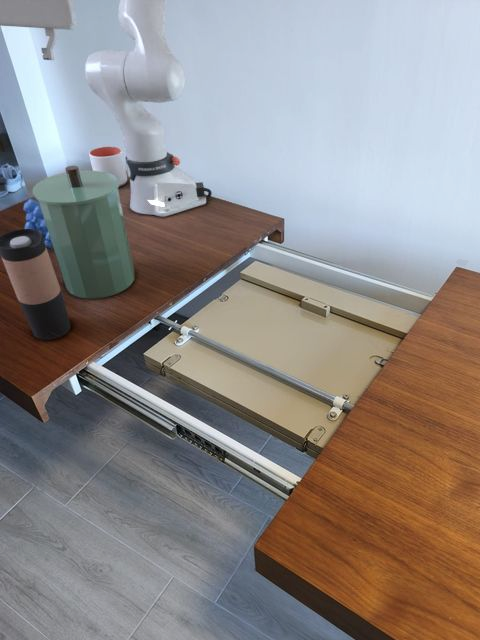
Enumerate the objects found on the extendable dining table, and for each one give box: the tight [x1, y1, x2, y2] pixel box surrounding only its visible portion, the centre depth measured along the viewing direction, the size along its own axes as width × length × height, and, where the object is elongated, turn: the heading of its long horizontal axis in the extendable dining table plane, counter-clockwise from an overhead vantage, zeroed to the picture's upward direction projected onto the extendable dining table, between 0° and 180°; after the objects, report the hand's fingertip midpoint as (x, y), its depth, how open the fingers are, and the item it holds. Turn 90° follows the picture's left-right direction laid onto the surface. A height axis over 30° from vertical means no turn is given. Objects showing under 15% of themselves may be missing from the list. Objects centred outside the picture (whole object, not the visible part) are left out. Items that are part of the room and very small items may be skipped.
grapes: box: [22, 198, 54, 250], centre depth 116 cm, size 12×7×12 cm, turn 48°
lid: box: [32, 165, 119, 205], centre depth 94 cm, size 16×16×5 cm
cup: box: [88, 146, 128, 188], centre depth 149 cm, size 10×10×10 cm
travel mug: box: [0, 228, 71, 341], centre depth 88 cm, size 8×8×20 cm
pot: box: [37, 188, 136, 300], centre depth 102 cm, size 15×15×22 cm
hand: (20, 58), depth 82 cm, fingers open, 8 cm apart
